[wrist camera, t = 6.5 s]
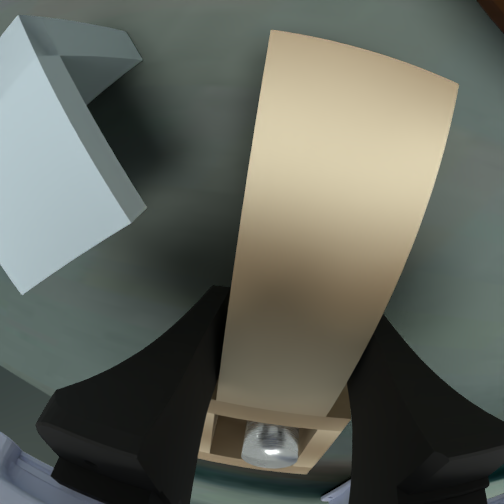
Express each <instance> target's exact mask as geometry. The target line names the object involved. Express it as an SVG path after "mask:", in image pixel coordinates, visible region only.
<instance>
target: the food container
mask: <svg viewBox="0 0 504 504" xmlns="http://www.w3.org/2000/svg"><path fill="white" fill-rule="evenodd" d="M477 2H478V3H479V4H480V6H481V7H482V8H483V9H484V11H485V12H486V13H487V15H488V16H489V17H490V18H491V20H492V21H493V22H494V23H495V24H496V25H497V26H498V28H499V29H500V30H501V31H502V32H503V33H504V0H477Z"/></svg>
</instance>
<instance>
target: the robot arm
mask: <svg viewBox="0 0 504 504" xmlns="http://www.w3.org/2000/svg"><path fill="white" fill-rule="evenodd" d="M230 291H231V287H223V286H214V285H213V286H212V287H211V288H210V289H209V290H208V291H207V292H206V293H205V294H204V295H203V296H202V298H201V299H200V300H199V301H198V302H197V303H196V304H195V305H194V306H193V307H192V308H191V309H190V310H189V311H188V312H187V313H186V314H185V315H184V316H183V317H182V318H181V319H180V320H179V321H178V322H176V323H175V324H174V325H173V326H172V327H171V328H170V329H168V330H167V331H166V332H165V333H164V334H163V335H161V336H160V337H159V338H158V339H156V340H155V341H154V342H152V343H151V344H150V345H148V346H147V347H145V348H144V349H143V350H141V351H140V352H138V353H137V354H135V355H133V356H132V357H130V358H128V359H127V360H125V361H123V362H122V363H120V364H118V365H116V366H115V367H113V368H111V369H109V370H107V371H104V372H102V373H100V374H98V375H96V376H93V377H91V378H89V379H86V380H84V381H81V382H78V383H75V384H73V385H70V386H67V387H64V388H61V389H58V390H56V391H55V393H54V394H53V395H52V397H51V398H50V400H49V402H48V403H47V405H46V407H45V409H44V410H43V412H42V414H41V415H40V417H39V419H38V421H37V423H36V428H37V431H38V433H39V435H40V436H41V437H42V439H43V440H44V441H45V442H46V443H47V444H48V445H49V446H50V447H51V448H52V450H53V451H54V452H55V453H56V454H57V455H58V456H59V459H58V461H57V463H56V465H55V467H51V466H50V465H48V464H46V463H44V462H42V461H40V460H38V459H36V458H34V457H32V456H31V455H29V454H27V453H25V452H23V451H22V450H21V448H20V447H19V446H18V445H17V444H16V443H15V442H14V441H13V440H12V439H10V438H9V437H8V436H6V435H5V434H3V433H1V432H0V504H190V499H191V492H192V486H193V480H194V475H195V469H196V463H197V458H198V453H199V448H200V443H201V438H202V433H203V428H204V424H205V419H206V415H207V411H208V408H209V404H210V401H211V398H212V395H213V392H214V389H215V386H216V383H217V380H218V377H219V373H220V366H221V358H222V350H223V343H224V335H225V328H226V320H227V313H228V306H229V298H230ZM347 388H348V394H349V401H350V409H351V416H352V472H351V480H349V481H347V482H346V483H344V484H342V485H341V486H339V487H338V488H336V489H334V490H332V491H331V492H329V493H327V494H325V495H324V496H322V497H321V501H328V502H329V504H504V493H503V494H500V495H498V496H495V497H492V498H489V499H487V498H486V493H485V488H487V487H488V486H489V480H488V476H489V475H490V474H491V473H493V472H494V471H495V470H496V469H498V468H499V467H500V466H501V465H502V464H504V421H502V420H500V419H498V418H496V417H494V416H493V415H491V414H489V413H487V412H485V411H484V410H482V409H481V408H479V407H478V406H476V405H475V404H473V403H471V402H470V401H469V400H467V399H466V398H464V397H463V396H462V395H460V394H459V393H458V392H456V391H455V390H454V389H453V388H451V387H450V386H449V385H448V384H446V383H445V382H444V381H443V380H442V379H441V378H440V377H438V376H437V375H436V374H435V373H434V372H433V371H432V370H431V369H430V368H429V367H428V366H427V365H426V364H425V363H424V362H423V361H422V360H421V359H420V358H419V357H418V356H417V354H416V353H415V352H414V351H413V350H412V349H411V348H410V347H409V346H408V344H407V343H406V342H405V341H404V340H403V338H402V337H401V336H400V335H399V333H398V332H397V331H396V330H395V329H394V327H393V326H392V325H391V323H390V322H389V321H388V320H387V318H386V317H385V316H384V314H383V315H382V317H381V319H380V321H379V323H378V325H377V327H376V329H375V331H374V333H373V335H372V337H371V339H370V341H369V343H368V345H367V347H366V348H365V350H364V352H363V354H362V356H361V358H360V360H359V362H358V363H357V365H356V367H355V369H354V371H353V372H352V374H351V376H350V378H349V379H348V381H347Z"/></svg>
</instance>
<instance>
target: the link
mask: <svg viewBox="0 0 504 504" xmlns="http://www.w3.org/2000/svg"><path fill="white" fill-rule="evenodd" d="M458 87H459V84H458V83H455V82H453V81H451V80H449V79H446V78H444V77H442V76H439V75H437V74H434V73H432V72H430V71H427V70H425V69H422V68H419V67H417V66H414V65H411V64H409V63H406V62H403V61H400V60H397V59H394V58H391V57H388V56H385V55H382V54H379V53H375V52H372V51H369V50H365V49H362V48H358V47H354V46H351V45H347V44H343V43H339V42H334V41H330V40H326V39H321V38H316V37H311V36H306V35H301V34H295V33H290V32H283V31H277V30H271V32H270V38H269V44H268V50H267V56H266V62H265V68H264V74H263V80H262V86H261V92H260V98H259V104H258V111H257V117H256V123H255V129H254V136H253V142H252V148H251V155H250V161H249V168H248V174H247V181H246V188H245V194H244V201H243V208H242V214H241V221H240V228H239V235H238V242H237V249H236V256H235V263H234V270H233V277H232V284H231V291H230V298H229V306H228V313H227V320H226V328H225V335H224V343H223V350H222V358H221V366H220V373H219V377H218V380H217V383H216V386H215V389H214V392H213V395H212V398H211V401H210V404H209V408H208V411H207V415H206V419H205V424H204V428H203V433H202V438H201V443H200V448H199V453H198V458H199V459H204V460H209V461H213V462H218V463H223V464H229V465H234V466H240V467H246V468H253V469H260V470H268V471H276V472H285V473H296V474H307V473H308V472H309V471H310V470H311V469H312V467H313V466H314V465H315V464H316V463H317V462H318V460H319V459H320V458H321V457H322V456H323V454H324V453H325V452H326V451H327V449H328V448H329V447H330V446H331V444H332V443H333V442H334V441H335V439H336V438H337V437H338V436H339V434H340V433H341V432H342V430H343V429H344V428H345V426H346V425H347V424H348V422H349V421H350V420H351V411H350V401H349V394H348V388H347V381H348V379H349V378H350V376H351V374H352V372H353V371H354V369H355V367H356V365H357V363H358V362H359V360H360V358H361V356H362V354H363V352H364V350H365V348H366V347H367V345H368V343H369V341H370V339H371V337H372V335H373V333H374V331H375V329H376V327H377V325H378V323H379V321H380V319H381V317H382V315H383V313H384V311H385V308H386V306H387V304H388V302H389V300H390V298H391V295H392V293H393V291H394V289H395V286H396V284H397V282H398V280H399V277H400V275H401V273H402V270H403V268H404V266H405V263H406V261H407V258H408V256H409V253H410V251H411V248H412V246H413V243H414V240H415V238H416V235H417V233H418V230H419V227H420V224H421V222H422V219H423V216H424V213H425V210H426V207H427V204H428V201H429V198H430V195H431V192H432V189H433V186H434V183H435V180H436V176H437V173H438V170H439V166H440V163H441V159H442V156H443V152H444V148H445V145H446V141H447V137H448V133H449V129H450V125H451V120H452V116H453V112H454V107H455V102H456V97H457V92H458ZM247 420H248V421H254V422H261V423H267V424H274V425H281V426H289V427H297V428H299V443H298V460H297V462H296V463H295V464H293V465H291V466H289V467H285V468H275V469H273V468H262V467H257V466H254V465H251V464H249V463H247V462H245V461H244V460H243V459H242V457H241V454H242V448H243V442H244V436H245V430H246V424H247Z"/></svg>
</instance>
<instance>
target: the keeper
mask: <svg viewBox="0 0 504 504" xmlns="http://www.w3.org/2000/svg"><path fill="white" fill-rule="evenodd" d="M142 60H143V59H142V58H141V56H140V54H139V53H138V51H137V49H136V47H135V46H134V44H133V42H132V41H131V39H130V37H129V36H128V34H127V32H126V31H122V30H118V29H114V28H109V27H104V26H99V25H94V24H88V23H83V22H77V21H70V20H64V19H56V18H48V17H39V16H28V15H18V16H17V17H16V18H15V19H14V21H13V22H12V23H11V24H10V25H9V27H8V28H7V29H6V31H5V32H4V33H3V34H2V36H1V37H0V264H1V266H2V267H3V269H4V270H5V272H6V273H7V275H8V276H9V278H10V279H11V281H12V282H13V283H14V285H15V286H16V288H17V289H18V290H19V292H20V293H21V294H22V295H23V294H24V293H26V292H27V291H28V290H30V289H31V288H33V287H34V286H35V285H37V284H38V283H40V282H41V281H42V280H44V279H45V278H47V277H48V276H50V275H51V274H53V273H54V272H55V271H57V270H58V269H60V268H61V267H63V266H64V265H66V264H67V263H69V262H70V261H72V260H73V259H75V258H76V257H78V256H79V255H81V254H82V253H84V252H86V251H87V250H89V249H90V248H92V247H93V246H95V245H97V244H98V243H100V242H101V241H103V240H104V239H106V238H108V237H109V236H111V235H112V234H114V233H116V232H117V231H119V230H121V229H122V228H124V227H126V226H127V225H129V224H131V223H132V222H133V221H134V220H135V219H136V218H137V217H138V216H139V215H140V214H141V213H142V212H143V211H145V210H146V209H147V207H146V205H145V203H144V202H143V200H142V199H141V197H140V196H139V194H138V192H137V191H136V189H135V187H134V186H133V184H132V183H131V181H130V179H129V178H128V176H127V175H126V173H125V171H124V170H123V168H122V166H121V165H120V163H119V161H118V160H117V158H116V156H115V155H114V153H113V151H112V150H111V148H110V146H109V144H108V143H107V141H106V139H105V138H104V136H103V134H102V132H101V131H100V129H99V127H98V125H97V124H96V122H95V120H94V118H93V117H92V115H91V113H90V111H89V110H88V108H87V106H86V105H88V104H89V103H90V102H91V101H92V100H93V99H94V98H96V97H97V96H98V95H99V94H100V93H101V92H103V91H104V90H105V89H106V88H107V87H109V86H110V85H111V84H112V83H114V82H115V81H116V80H117V79H119V78H120V77H121V76H122V75H124V74H125V73H126V72H128V71H129V70H130V69H132V68H133V67H134V66H136V65H137V64H138V63H140V62H141V61H142Z"/></svg>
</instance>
